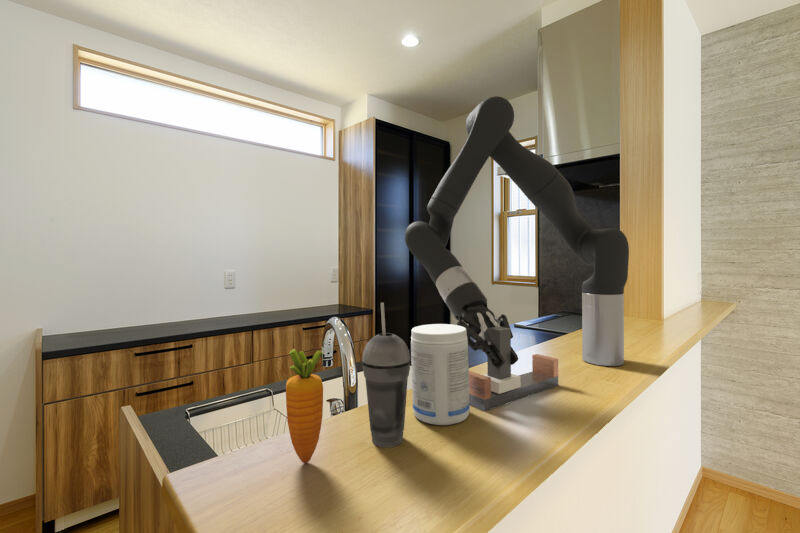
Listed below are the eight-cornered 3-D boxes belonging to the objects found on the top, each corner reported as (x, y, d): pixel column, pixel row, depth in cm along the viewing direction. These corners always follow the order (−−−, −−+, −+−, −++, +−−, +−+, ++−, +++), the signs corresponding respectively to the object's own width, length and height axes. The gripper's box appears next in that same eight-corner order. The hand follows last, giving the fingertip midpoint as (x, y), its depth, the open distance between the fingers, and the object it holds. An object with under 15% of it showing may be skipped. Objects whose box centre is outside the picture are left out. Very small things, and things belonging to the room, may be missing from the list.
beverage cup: (374, 457, 50) (372, 307, 49) (355, 435, 56) (353, 302, 56) (421, 444, 53) (420, 303, 53) (398, 424, 59) (396, 299, 59)
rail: (537, 379, 81) (536, 354, 81) (558, 385, 77) (558, 358, 77) (464, 402, 68) (463, 372, 68) (484, 411, 64) (484, 379, 64)
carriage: (499, 380, 74) (498, 324, 74) (520, 387, 70) (520, 328, 70) (478, 386, 70) (477, 328, 70) (499, 394, 66) (498, 332, 66)
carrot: (329, 454, 51) (328, 344, 50) (318, 475, 46) (316, 353, 45) (294, 452, 51) (292, 343, 51) (279, 473, 46) (277, 352, 46)
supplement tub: (463, 403, 68) (462, 322, 68) (475, 426, 58) (474, 333, 58) (410, 404, 68) (409, 323, 67) (413, 428, 58) (412, 334, 58)
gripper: (443, 282, 72) (493, 359, 62) (492, 279, 80) (544, 346, 70) (426, 307, 76) (470, 382, 66) (474, 302, 84) (520, 368, 75)
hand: (507, 363), depth 68 cm, fingers closed on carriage, 3 cm apart
